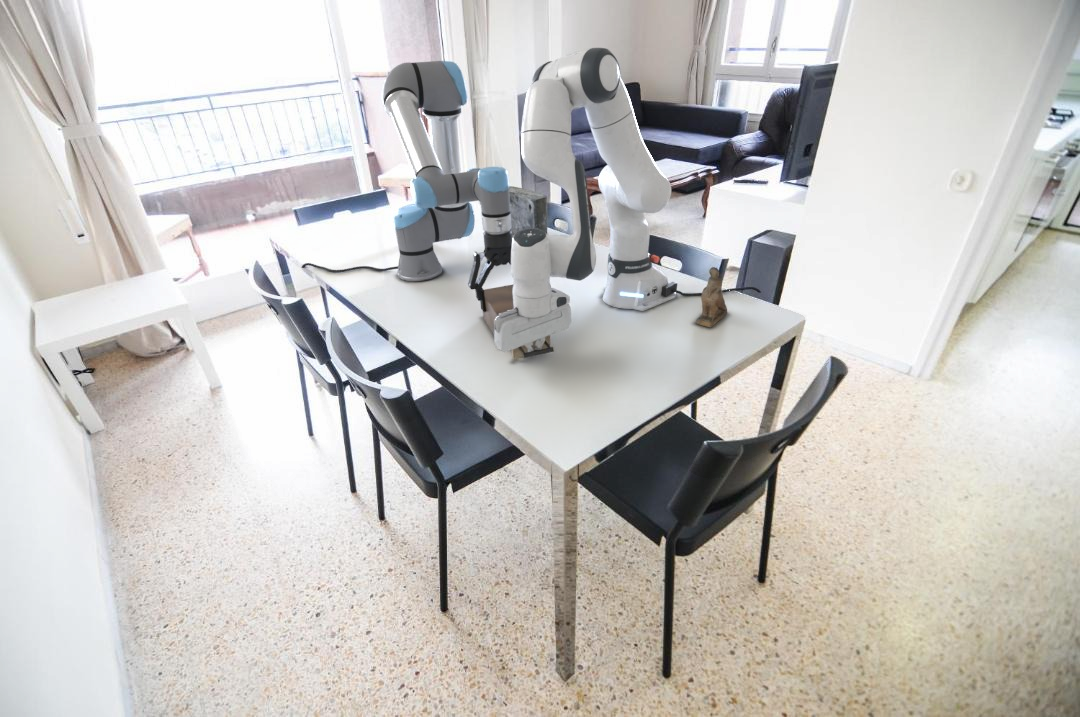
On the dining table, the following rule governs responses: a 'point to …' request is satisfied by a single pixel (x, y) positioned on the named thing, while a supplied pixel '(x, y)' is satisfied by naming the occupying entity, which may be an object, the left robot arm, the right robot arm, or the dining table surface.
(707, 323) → the worn brown figurine
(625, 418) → the dining table surface
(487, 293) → the cabinet
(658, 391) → the dining table surface
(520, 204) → the concrete block
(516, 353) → the drawer
